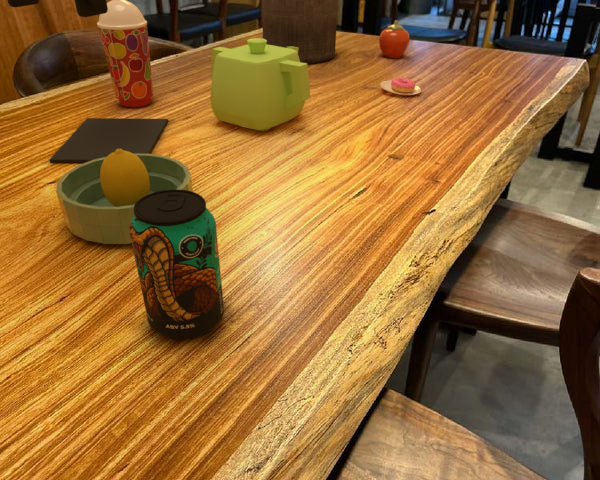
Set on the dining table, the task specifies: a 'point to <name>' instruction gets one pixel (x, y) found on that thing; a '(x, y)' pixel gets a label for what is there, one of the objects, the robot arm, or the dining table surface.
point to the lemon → (124, 178)
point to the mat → (109, 139)
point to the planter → (302, 27)
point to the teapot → (258, 84)
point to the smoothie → (127, 52)
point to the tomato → (394, 41)
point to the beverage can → (177, 263)
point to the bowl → (95, 206)
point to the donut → (400, 86)
